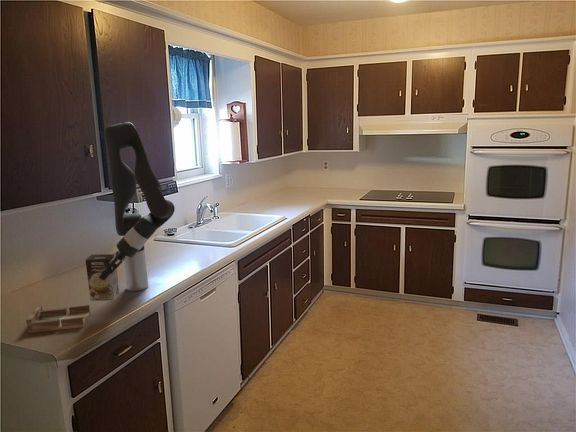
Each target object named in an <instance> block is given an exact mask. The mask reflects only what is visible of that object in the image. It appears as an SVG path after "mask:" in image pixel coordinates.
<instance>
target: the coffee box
mask: <svg viewBox="0 0 576 432" xmlns="http://www.w3.org/2000/svg"><path fill="white" fill-rule="evenodd" d="M114 254H115V253H113V254H112V253H108V254H106V253H105V254H91V255H89V256H88V257H87V258H86V259H85V266H86V267H85V268H86V275H87V282H88V283H87V285H88V291H89V299H90V302H92V301H93V302H98V301H99V302H101V301H104V302H105V301H115V300H116V299H117V298H118V297H119V295H120V284H119V278H118V277H119V275H118V268H116V269H115V271H114V272H113V273H112V274H111V273H110V274H109V276H108V277H107V278H106V279H105V280H102V279H100V278H99V276H100V275H101V274H102V273H103V272H104V270H105V269H106V267H108V266H109V262H110V261H111V259H112V258H113V256H114ZM110 269H111V270H112V269H113V267H112V266H111V267H110Z"/></svg>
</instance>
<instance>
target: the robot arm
mask: <svg viewBox="0 0 576 432" xmlns="http://www.w3.org/2000/svg"><path fill="white" fill-rule="evenodd" d="M103 134H104V142H105V147H106V151H107V152H106V153H107V156H108V162H109V171H110V180H111V189H112V196H113V202H114V222H115V223H114V225H115V231H116V234H117V235H118V236H119V237H121V239H120V240H119V241H118V242H117V243H116V248H117V250H116V251H115V252H114V253H113V254H114V256H113V258H112V259H111V261H110V262H109V266H108V267H106V269H105V270H104V272H103V273H102V274H101V275H100V276H99V278H100V279H102V280H105V279H106V278H107V277H108V276H109V274H110V273H111V274H112V273H113V272H114V271H115V269H116V268H117V269H118V268H119V266H120V265H122V264H123V269H124V278H125V288H126V290H127V291H131V292H136V291H143V290H145V289H147V288H148V287H149V279H148V278H149V277H148V270H147V260H146V251H145V244H146V243H147V242H148V241H149V239H150V238H151V237H152V236H153V234H154V233H155V232H156V231H157V230H158V229H160V227H162V226H163V225H165V223H167V221H169V220H170V219H171V217H173V215H174V213H175V209H176V207H175V205H174V203H173V202H172V201H170V200H168V199H166V198H165V196H164V194H163V192H162V190H163V189H162V185H161V183H160V181H159V179H158V177H157V175H156V174H155V172H154V170H153V168H152V166H151V162H150V160H149V158H148V155H147V152H146V150H145V147H144V144H143V142H142V138H141V137H140V134H139V132H138V130H137V128H136V127H135V125H134V124H133V123H132V122H130V121H124V122H120V123H115V124H110V125H107V126H106V127H105V128H104V133H103ZM126 148H127V149H128V148H132V149H133V151H134V154H135V165H134V171H133V170H132V168H130V167H129V166H128V165H127V164H126V163H125V162H124V161H123V159H122V157H121V150H123V149H126ZM137 185H138V187H139V188H140V190H141V192H142V194H143V195H144V196H143V197H144V200H145V202H146V206H147V208H148V210H149V212H150V213H148V214H146V215H145V216H142V215H141V214H140V213H139V212H138V213H137V212H135V213H125V211H126V210H127V209H126V208H127V207H128V205H129V204H130V203H131V201H132V200H133V198H134V197H135V195H136V193H137V189H138V188H137ZM111 266H112V267H113V269H112V270H111V269H110V267H111Z"/></svg>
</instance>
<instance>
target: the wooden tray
mask: <svg viewBox="0 0 576 432" xmlns="http://www.w3.org/2000/svg"><path fill="white" fill-rule="evenodd" d="M90 308H91V307H90V304H82V305H73V306H69V307H67V306H65V307H64V306H63V307H54V308H45V309H43V306H42V305H39V306H36V308H35V309H34V310H33V311H32V312H31V314H30V315H29V316H28V317H27V318H26V321H25V322H26V327H27V333H28V334H34V333H44V332H51V331H59V330H61V331H62V330H67V329H78V328H84V326H85V324H86V322H87V321H88V319H89V317H90V314H91V309H90ZM68 311H69V312H68Z"/></svg>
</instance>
